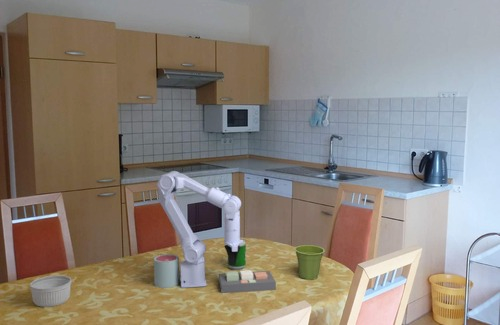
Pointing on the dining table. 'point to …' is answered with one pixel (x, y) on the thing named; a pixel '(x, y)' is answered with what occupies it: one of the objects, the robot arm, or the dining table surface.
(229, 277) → the sage key
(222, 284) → the keypad
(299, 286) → the dining table surface
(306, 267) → the plant pot
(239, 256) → the soda can
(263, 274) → the terracotta key
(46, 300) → the ramekin
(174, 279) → the mug
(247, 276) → the cream key
